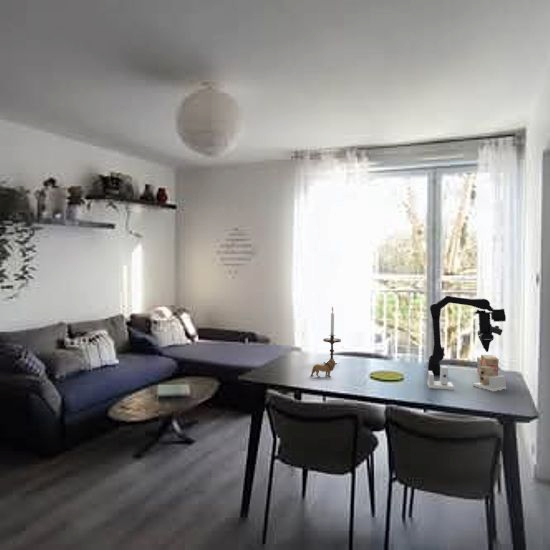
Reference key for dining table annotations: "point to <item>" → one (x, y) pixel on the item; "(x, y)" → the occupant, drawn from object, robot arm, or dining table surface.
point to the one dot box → (437, 383)
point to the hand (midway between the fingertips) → (486, 350)
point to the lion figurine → (324, 368)
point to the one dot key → (443, 374)
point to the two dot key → (485, 374)
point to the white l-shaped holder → (493, 383)
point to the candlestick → (332, 336)
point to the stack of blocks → (488, 363)
